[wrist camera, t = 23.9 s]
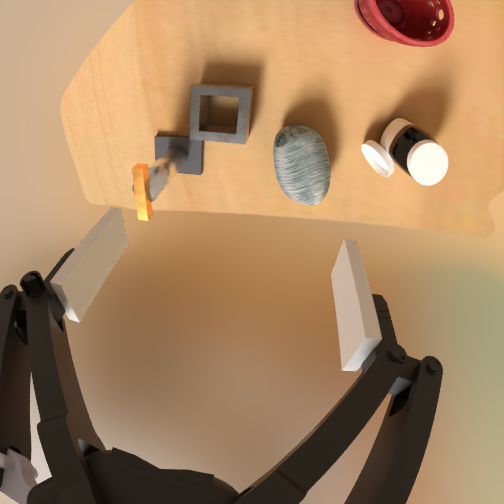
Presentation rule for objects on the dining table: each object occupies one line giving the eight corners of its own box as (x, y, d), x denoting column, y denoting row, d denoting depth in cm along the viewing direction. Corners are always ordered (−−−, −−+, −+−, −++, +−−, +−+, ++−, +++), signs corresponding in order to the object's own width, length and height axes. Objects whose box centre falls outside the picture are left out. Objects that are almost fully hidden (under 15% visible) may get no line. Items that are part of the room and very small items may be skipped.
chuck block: (200, 83, 40) (191, 85, 36) (254, 86, 40) (250, 88, 36) (198, 131, 45) (189, 139, 41) (248, 136, 45) (245, 144, 41)
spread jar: (431, 140, 40) (463, 164, 31) (399, 185, 47) (422, 217, 38) (383, 102, 38) (411, 115, 29) (350, 152, 45) (367, 178, 36)
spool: (256, 125, 41) (288, 151, 35) (307, 110, 42) (345, 133, 36) (267, 190, 51) (294, 223, 45) (310, 173, 53) (341, 202, 46)
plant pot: (332, -11, 27) (348, -32, 17) (399, -23, 22) (429, -40, 12) (369, 55, 33) (395, 54, 24) (431, 41, 28) (469, 41, 19)
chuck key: (168, 174, 50) (131, 218, 38) (166, 135, 45) (124, 168, 33) (188, 176, 50) (155, 221, 38) (188, 135, 45) (150, 169, 33)
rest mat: (156, 135, 46) (154, 136, 45) (203, 137, 46) (201, 139, 45) (158, 169, 51) (156, 171, 50) (202, 172, 50) (200, 175, 50)
